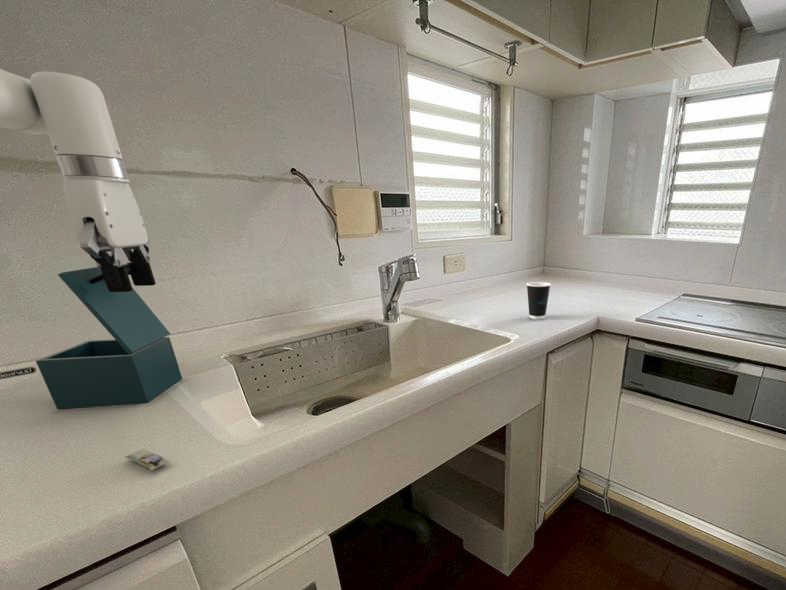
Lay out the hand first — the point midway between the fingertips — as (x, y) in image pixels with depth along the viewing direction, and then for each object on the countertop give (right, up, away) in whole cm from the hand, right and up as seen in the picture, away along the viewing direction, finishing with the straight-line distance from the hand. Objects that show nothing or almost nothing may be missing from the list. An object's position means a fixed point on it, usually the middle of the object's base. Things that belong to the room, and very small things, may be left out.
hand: (133, 287), depth 69 cm
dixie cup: (+76, +4, +63) cm, 99 cm away
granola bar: (+16, -27, -15) cm, 35 cm away
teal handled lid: (-3, -4, +1) cm, 5 cm away
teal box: (-7, -18, +6) cm, 21 cm away
